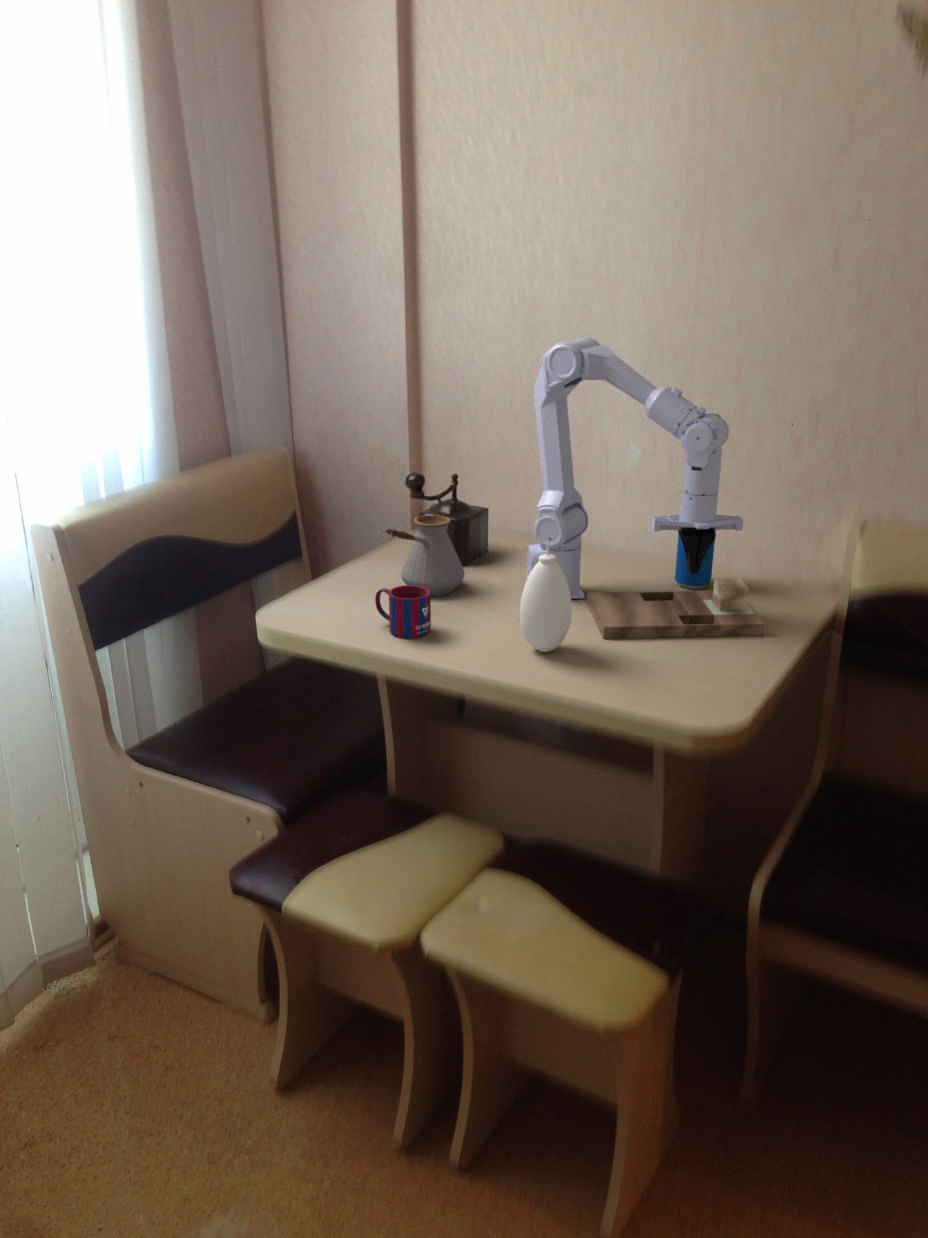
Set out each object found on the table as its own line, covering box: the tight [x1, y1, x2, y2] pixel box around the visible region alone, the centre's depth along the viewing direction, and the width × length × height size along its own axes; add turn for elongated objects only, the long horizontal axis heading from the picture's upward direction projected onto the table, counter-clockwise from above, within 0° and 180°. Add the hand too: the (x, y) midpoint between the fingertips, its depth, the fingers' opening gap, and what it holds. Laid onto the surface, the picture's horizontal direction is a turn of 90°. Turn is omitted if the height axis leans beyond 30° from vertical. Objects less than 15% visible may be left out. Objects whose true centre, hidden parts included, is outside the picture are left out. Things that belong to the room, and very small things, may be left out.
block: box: [712, 578, 750, 612], centre depth 179 cm, size 4×4×4 cm
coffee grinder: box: [404, 472, 489, 567], centre depth 206 cm, size 16×11×18 cm
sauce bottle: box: [519, 540, 573, 653], centre depth 165 cm, size 8×8×18 cm
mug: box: [374, 584, 432, 640], centre depth 175 cm, size 7×10×7 cm
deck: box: [586, 590, 765, 640], centre depth 180 cm, size 26×16×2 cm, turn 93°
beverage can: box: [674, 530, 717, 590], centre depth 194 cm, size 6×6×12 cm
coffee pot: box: [379, 515, 466, 597], centre depth 187 cm, size 21×12×15 cm, turn 152°
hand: (692, 571), depth 177 cm, fingers closed
